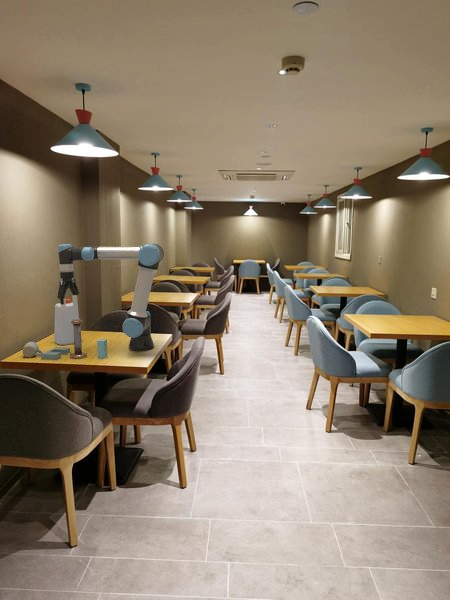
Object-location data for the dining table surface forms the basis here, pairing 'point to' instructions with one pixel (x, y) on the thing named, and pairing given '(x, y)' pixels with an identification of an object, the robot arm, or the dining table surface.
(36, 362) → the dining table surface
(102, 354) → the peg
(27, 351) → the ceramic mug
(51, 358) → the teal z-shaped block
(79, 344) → the bobbin
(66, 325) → the plastic bottle
